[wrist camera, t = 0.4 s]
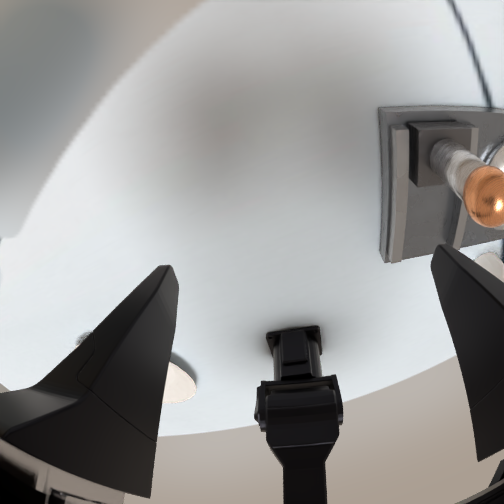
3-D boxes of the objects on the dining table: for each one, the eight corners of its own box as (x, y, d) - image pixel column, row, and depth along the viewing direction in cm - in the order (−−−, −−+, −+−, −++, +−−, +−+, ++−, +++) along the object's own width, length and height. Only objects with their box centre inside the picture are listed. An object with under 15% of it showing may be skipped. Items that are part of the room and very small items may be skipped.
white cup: (507, 246, 26) (535, 286, 20) (488, 286, 30) (510, 325, 25) (471, 249, 26) (501, 294, 21) (452, 291, 31) (474, 335, 25)
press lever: (456, 172, 19) (521, 239, 12) (408, 177, 20) (468, 252, 13) (459, 121, 16) (538, 175, 9) (408, 122, 17) (483, 180, 10)
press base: (519, 225, 24) (531, 239, 22) (379, 252, 27) (388, 271, 25) (540, 113, 15) (557, 123, 13) (378, 107, 18) (392, 116, 16)
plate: (201, 399, 50) (199, 409, 49) (99, 380, 49) (96, 390, 48) (194, 340, 37) (192, 355, 35) (59, 317, 36) (54, 329, 34)
